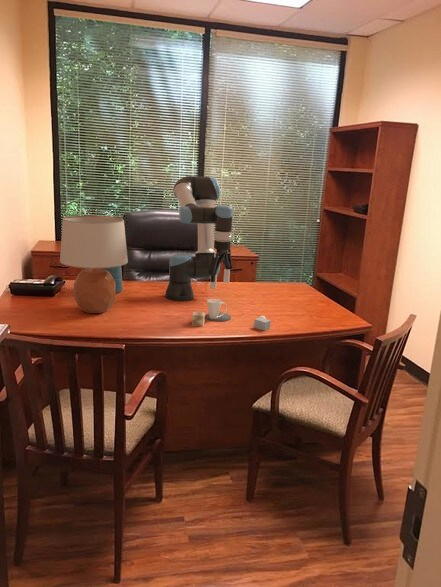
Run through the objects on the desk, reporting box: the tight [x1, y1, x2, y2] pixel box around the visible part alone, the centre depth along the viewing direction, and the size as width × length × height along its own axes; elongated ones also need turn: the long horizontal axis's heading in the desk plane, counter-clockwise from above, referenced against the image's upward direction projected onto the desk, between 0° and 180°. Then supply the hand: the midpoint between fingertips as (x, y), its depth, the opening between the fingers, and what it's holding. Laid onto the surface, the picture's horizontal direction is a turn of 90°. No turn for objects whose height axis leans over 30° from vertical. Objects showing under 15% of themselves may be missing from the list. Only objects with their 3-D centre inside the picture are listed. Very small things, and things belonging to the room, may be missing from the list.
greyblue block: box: [253, 317, 272, 332], centre depth 216 cm, size 6×4×4 cm, turn 48°
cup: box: [206, 298, 229, 319], centre depth 225 cm, size 7×10×8 cm
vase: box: [103, 266, 124, 294], centre depth 260 cm, size 16×16×27 cm
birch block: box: [191, 311, 206, 327], centre depth 216 cm, size 5×5×5 cm
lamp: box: [59, 215, 129, 314], centre depth 222 cm, size 30×30×43 cm
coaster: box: [205, 312, 232, 322], centre depth 228 cm, size 12×12×1 cm
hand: (219, 285), depth 224 cm, fingers open, 13 cm apart
